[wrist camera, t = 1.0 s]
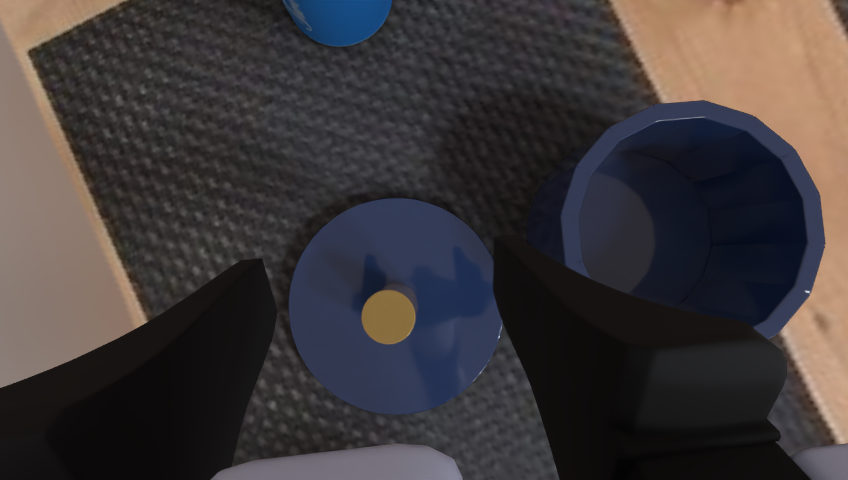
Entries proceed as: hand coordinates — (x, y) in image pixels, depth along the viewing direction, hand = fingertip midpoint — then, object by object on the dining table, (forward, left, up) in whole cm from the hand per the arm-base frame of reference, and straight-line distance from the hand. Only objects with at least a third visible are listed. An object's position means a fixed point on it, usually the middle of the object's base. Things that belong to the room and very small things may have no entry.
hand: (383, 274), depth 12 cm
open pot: (+1, -13, -12) cm, 18 cm away
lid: (-2, +1, -11) cm, 12 cm away
